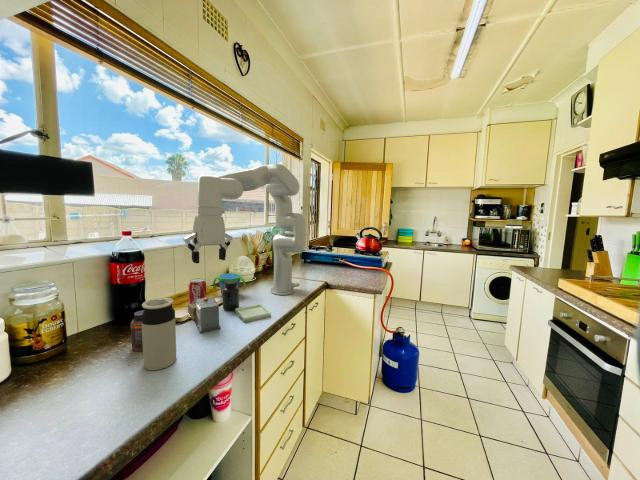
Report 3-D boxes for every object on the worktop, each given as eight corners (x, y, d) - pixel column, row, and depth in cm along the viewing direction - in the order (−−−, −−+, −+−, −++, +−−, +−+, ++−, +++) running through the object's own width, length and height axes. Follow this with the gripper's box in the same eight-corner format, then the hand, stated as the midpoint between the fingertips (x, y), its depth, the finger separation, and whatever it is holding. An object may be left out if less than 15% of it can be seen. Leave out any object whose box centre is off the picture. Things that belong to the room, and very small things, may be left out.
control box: (214, 317, 104) (213, 294, 103) (220, 328, 95) (220, 303, 94) (194, 321, 100) (194, 297, 99) (200, 333, 91) (199, 306, 90)
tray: (260, 307, 116) (260, 303, 116) (270, 316, 107) (270, 312, 107) (235, 312, 110) (235, 308, 110) (243, 322, 101) (243, 318, 100)
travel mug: (158, 374, 69) (156, 309, 66) (136, 367, 71) (133, 305, 69) (182, 357, 76) (181, 299, 74) (161, 352, 79) (159, 295, 76)
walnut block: (200, 313, 108) (200, 301, 107) (206, 316, 105) (206, 304, 104) (188, 316, 104) (187, 304, 104) (193, 320, 101) (193, 308, 100)
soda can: (209, 305, 116) (209, 279, 114) (195, 310, 110) (194, 283, 108) (200, 302, 119) (200, 277, 118) (185, 306, 113) (184, 280, 112)
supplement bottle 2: (230, 304, 118) (229, 279, 117) (242, 306, 116) (242, 281, 114) (219, 309, 112) (219, 282, 110) (232, 312, 110) (232, 285, 108)
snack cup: (248, 293, 134) (248, 274, 133) (240, 300, 124) (240, 279, 123) (219, 291, 135) (219, 272, 134) (209, 298, 125) (209, 277, 124)
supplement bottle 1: (157, 347, 81) (155, 312, 80) (134, 354, 77) (132, 318, 76) (151, 339, 85) (150, 307, 84) (129, 346, 81) (127, 312, 80)
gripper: (226, 212, 98) (225, 257, 100) (178, 211, 84) (178, 262, 86) (238, 213, 93) (237, 260, 95) (190, 211, 80) (189, 266, 81)
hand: (209, 261), depth 91 cm, fingers open, 9 cm apart
